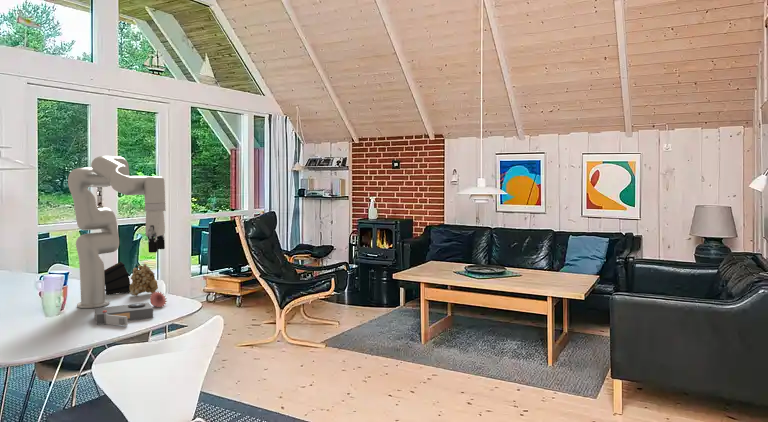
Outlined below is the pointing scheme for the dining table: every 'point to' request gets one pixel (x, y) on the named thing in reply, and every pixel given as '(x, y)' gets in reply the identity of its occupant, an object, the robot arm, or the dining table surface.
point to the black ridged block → (116, 279)
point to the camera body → (125, 312)
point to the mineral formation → (143, 281)
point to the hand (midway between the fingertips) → (156, 250)
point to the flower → (157, 299)
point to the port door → (115, 320)
